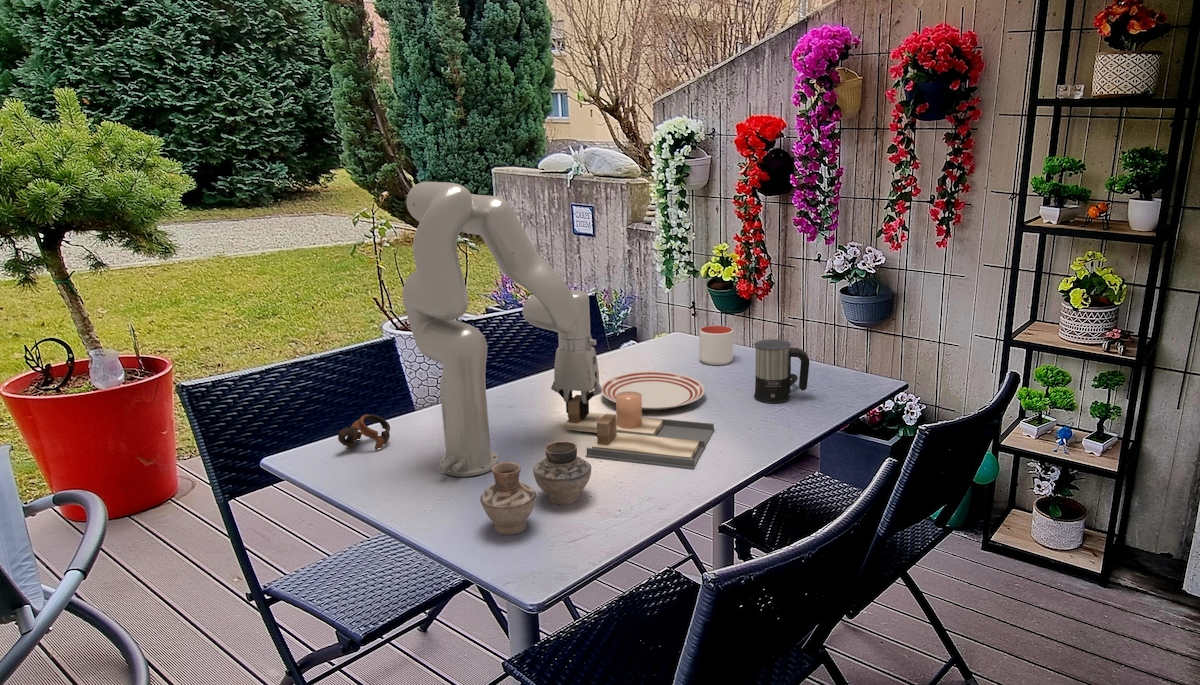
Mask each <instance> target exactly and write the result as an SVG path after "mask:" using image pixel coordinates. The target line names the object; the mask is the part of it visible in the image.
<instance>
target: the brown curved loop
mask: <svg viewBox="0 0 1200 685" xmlns="http://www.w3.org/2000/svg"><path fill="white" fill-rule="evenodd" d="M367 420H368V422H369V424H374V423H375V424H378V423H379V424H380V425H381V429H382V431H381V433H380V435H379V431H378V430H375V429H373V428H370V427H369V426H368V425H366V423H365V421H367ZM390 431H391V426H390V424H389V422H388V421H387V420H386V419H385V418H383V417H381V416H379V415H376V414H364V415H362V416H360V418H359V419H357V420H356V421H354V422H353V423H351V425H350V427H344V428H343V429H341V430H340V431H339V432H338V435H337V439H338V442H339V443H340V444H341V445H342V446H346V448H347V447H348V448H347V449H350V450H353V449H354V448H355V442H356V441H358V440H357V439H360V438H361V439H362V435H363V436H365V437H367V438H370V439H372V440H373V441H376V442H375V446H374V450H376V449H378V448H381V447H382V448H383V447H384V445H386V444H387V442H388V441H389V440H390V437H391V435H390ZM355 440H356V441H355ZM382 448H381V449H382ZM376 451H377V450H376Z"/></svg>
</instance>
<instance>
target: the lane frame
mask: <svg viewBox="0 0 1200 685" xmlns="http://www.w3.org/2000/svg"><path fill="white" fill-rule="evenodd" d="M642 418H649V417H648V416H647V417H645V416H642ZM651 418H652V419H659V418H657V417H651ZM661 419H662V420H663V425H662V427H661V428H660V430H659V431H658V432H657V434H656V435H646V434H636V433H626V432H617V433H626V434H636V435H645V436H655V437H665V438H675V439H684V440H694V441H699V448H698V449H697V451H696V453H695V455H694V457H693V458H692V459H686V458H677V457H668V456H659V455H650V454H641V453H632V452H623V451H614V450H605V449H596V448H592V447H586V448H585V449H586V455H585V458H589V459H590V458H591V459H599V460H608V461H617V462H625V463H633V464H634V463H636V464H641V463H642V464H643V465H650V464H651V465H652V466H659V465H660V467H661V466H662V467H668V468H669V467H670V468H677V469H678V468H679V469H685V470H687V469H688V470H694V469H695V467H696V466H697V463H699V462H698V461H699V460H700V458H701V456H702V454H703V452H704V450H705V448H706V447H705V446H707V445H706V444H708V443H709V441H710V439H711V437H712V436H713V433H714V431H715V424H714V423H709V422H708V423H707V422H701V421H699V422H698V421H689V420H687V421H686V420H678V419H668V418H661ZM707 442H708V443H707Z"/></svg>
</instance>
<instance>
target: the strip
mask: <svg viewBox="0 0 1200 685" xmlns="http://www.w3.org/2000/svg"><path fill="white" fill-rule="evenodd" d="M604 414H605V415H604V416H603V417H602V418H601V419H600V420H599V421H598V422H597V433H596V434H597V435H596V436H597V437H596V438H597V440H596V441H595V443H593V445H592V446H591V448H596V449H605V450H614V451H623V452H632V453H641V454H650V455H659V456H668V457H677V458H686V459H692V458H693V457H694V455H695V453H696V451H697V449H698V448H699V441H694V440H684V439H675V438H665V437H655V436H645V435H636V434H626V433H617V431H616V415H617V414H616V413H615V414H614V413H604Z"/></svg>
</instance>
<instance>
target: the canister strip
mask: <svg viewBox="0 0 1200 685" xmlns="http://www.w3.org/2000/svg"><path fill="white" fill-rule="evenodd" d="M581 400H582V398H581V394H575V395H574V396H573V398H572V399H571V400H570V401H569V402H568V413H567V417H568V419H567V420H566V421H565V422H564V423H563V430H566V431H578V432H587V433H596V434H597V422H598V421H599V420H600V419H601V418H602V417H603V416H604V415H605V414H606V413H599V412H589V414H588V415H587V416H586V417H585V418H584V419H581V418H580V404H581V403H582V401H581ZM615 415H616V431H617V432H626V433H636V434H646V435H656V434H657V432H658V431H659V430H660V428H661V427H662V425H663V420H662V419H663V418H658V419H652V418H653V417H648V418H642V425H641V426H639V427H637V428H621V427H619V426H618V425H617V414H615Z"/></svg>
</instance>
